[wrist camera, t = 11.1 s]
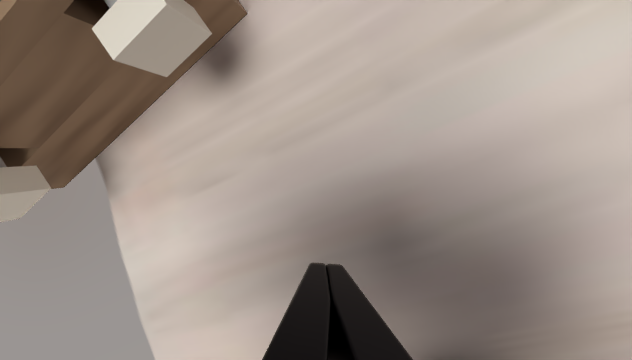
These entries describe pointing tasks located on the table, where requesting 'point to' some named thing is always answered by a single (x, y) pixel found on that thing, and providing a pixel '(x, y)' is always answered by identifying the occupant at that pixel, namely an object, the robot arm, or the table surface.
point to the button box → (76, 82)
